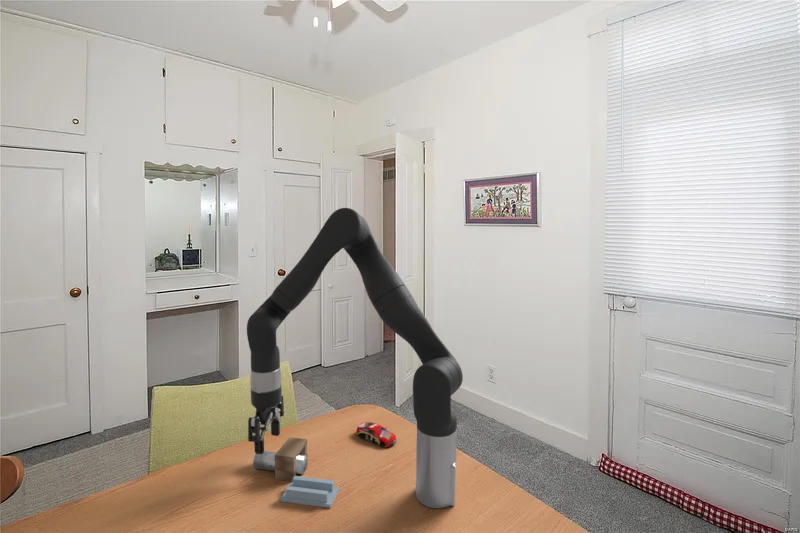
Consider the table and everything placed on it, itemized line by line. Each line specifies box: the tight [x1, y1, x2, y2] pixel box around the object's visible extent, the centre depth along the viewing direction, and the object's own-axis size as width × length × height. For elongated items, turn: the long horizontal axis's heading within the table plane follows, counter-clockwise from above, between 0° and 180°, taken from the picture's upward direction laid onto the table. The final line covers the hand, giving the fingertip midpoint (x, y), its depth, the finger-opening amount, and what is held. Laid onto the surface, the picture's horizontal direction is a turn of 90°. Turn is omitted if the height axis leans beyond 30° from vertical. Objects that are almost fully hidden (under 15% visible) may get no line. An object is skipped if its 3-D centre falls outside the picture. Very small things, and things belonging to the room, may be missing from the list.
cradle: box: [280, 475, 340, 509], centre depth 97 cm, size 12×6×3 cm, turn 80°
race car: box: [356, 421, 397, 448], centre depth 122 cm, size 13×5×4 cm, turn 54°
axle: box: [252, 450, 309, 475], centre depth 107 cm, size 13×4×4 cm, turn 80°
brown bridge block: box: [274, 436, 308, 482], centre depth 106 cm, size 5×8×6 cm, turn 170°
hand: (267, 443), depth 107 cm, fingers open, 8 cm apart
